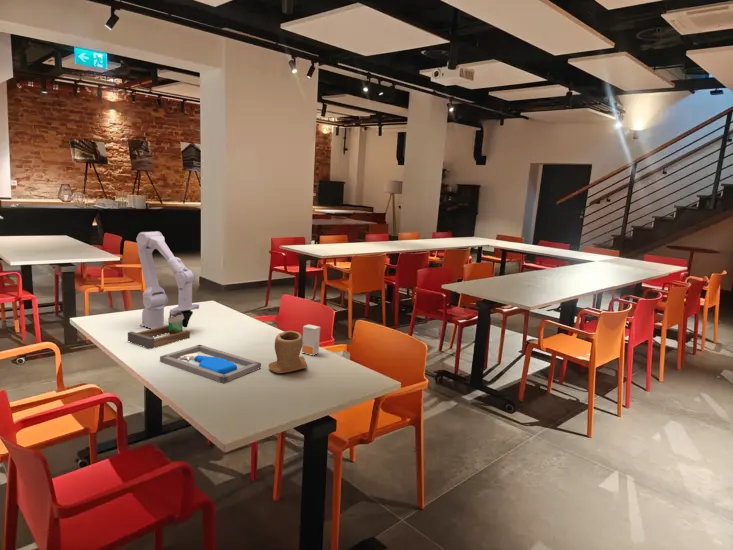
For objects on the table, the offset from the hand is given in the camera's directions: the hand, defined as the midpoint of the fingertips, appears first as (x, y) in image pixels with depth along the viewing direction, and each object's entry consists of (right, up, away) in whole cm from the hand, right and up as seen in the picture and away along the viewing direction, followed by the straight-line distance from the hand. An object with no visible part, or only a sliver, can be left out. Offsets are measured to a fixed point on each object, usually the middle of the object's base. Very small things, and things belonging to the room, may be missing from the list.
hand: (184, 326), depth 219 cm
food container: (-1, -4, -5) cm, 6 cm away
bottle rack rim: (+23, -11, -35) cm, 43 cm away
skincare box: (+58, -10, -15) cm, 61 cm away
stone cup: (+53, -13, -34) cm, 64 cm away
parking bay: (-6, -4, -10) cm, 13 cm away
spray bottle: (+22, -11, -36) cm, 43 cm away
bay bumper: (-11, -5, -19) cm, 22 cm away
